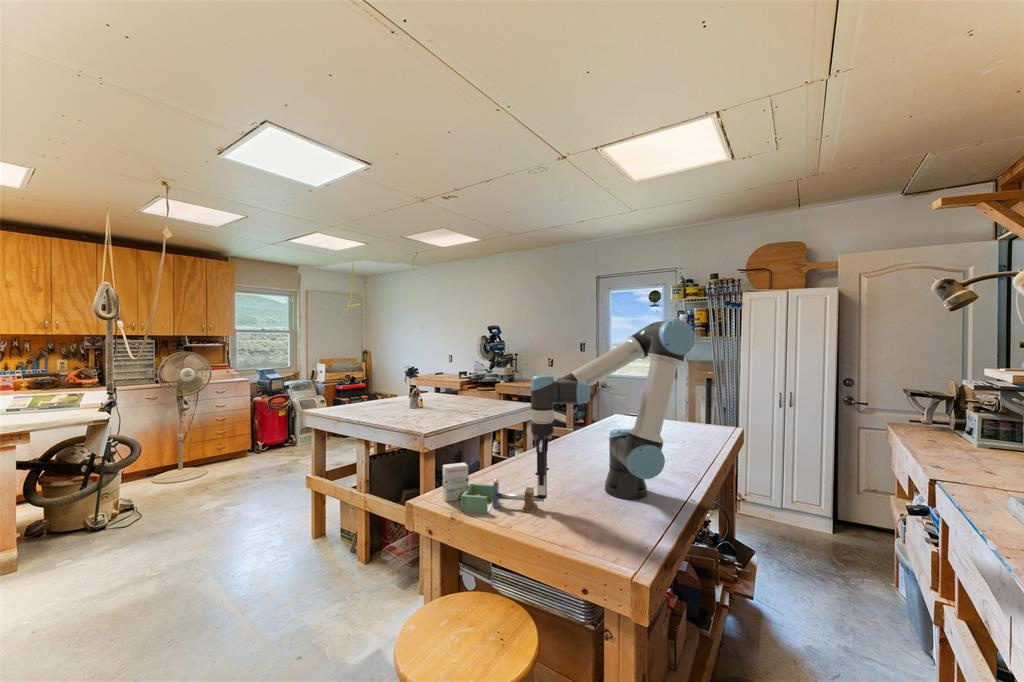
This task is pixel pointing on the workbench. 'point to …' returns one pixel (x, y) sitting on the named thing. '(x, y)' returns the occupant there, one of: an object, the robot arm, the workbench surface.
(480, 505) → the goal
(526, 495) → the bearing block
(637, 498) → the robot arm
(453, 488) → the ink box
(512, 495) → the u-shaped post frame
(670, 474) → the workbench surface
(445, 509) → the workbench surface
